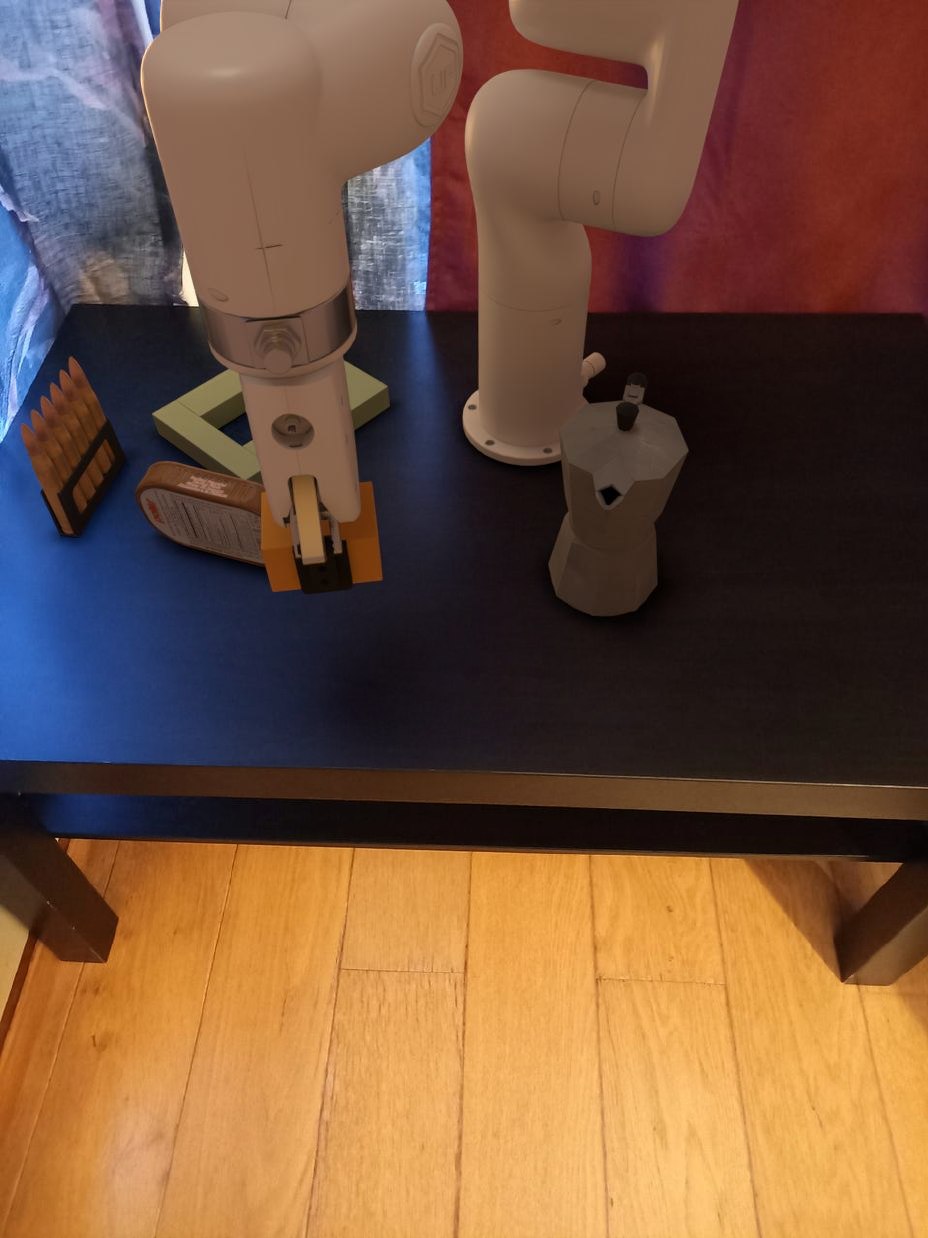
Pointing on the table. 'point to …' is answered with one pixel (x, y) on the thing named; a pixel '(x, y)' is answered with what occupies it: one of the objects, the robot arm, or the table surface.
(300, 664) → the table surface
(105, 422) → the ammunition clip
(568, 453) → the coffeepot
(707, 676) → the table surface
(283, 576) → the ochre box
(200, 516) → the tin
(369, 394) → the olive rectangular frame
